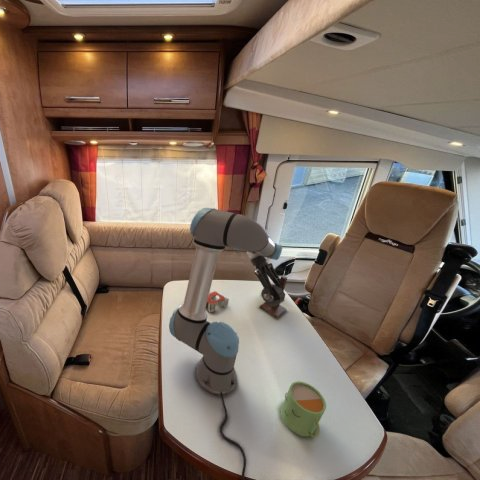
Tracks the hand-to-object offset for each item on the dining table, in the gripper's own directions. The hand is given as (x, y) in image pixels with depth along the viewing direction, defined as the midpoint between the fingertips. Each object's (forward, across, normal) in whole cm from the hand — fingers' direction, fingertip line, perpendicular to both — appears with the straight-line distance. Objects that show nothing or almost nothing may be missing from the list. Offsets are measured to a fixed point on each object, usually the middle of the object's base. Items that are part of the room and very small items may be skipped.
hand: (280, 297), depth 117 cm
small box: (+1, -15, -18) cm, 24 cm away
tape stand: (+6, -2, -13) cm, 14 cm away
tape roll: (+1, 0, -7) cm, 7 cm away
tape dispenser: (-13, +17, -27) cm, 34 cm away
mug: (+31, +41, +12) cm, 53 cm away
